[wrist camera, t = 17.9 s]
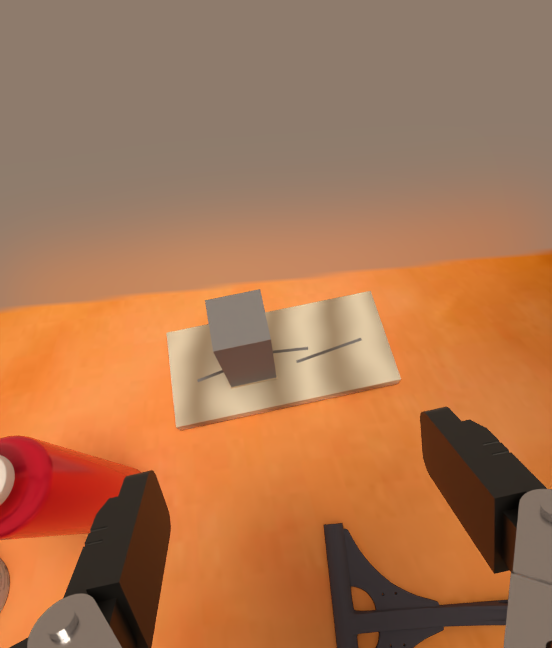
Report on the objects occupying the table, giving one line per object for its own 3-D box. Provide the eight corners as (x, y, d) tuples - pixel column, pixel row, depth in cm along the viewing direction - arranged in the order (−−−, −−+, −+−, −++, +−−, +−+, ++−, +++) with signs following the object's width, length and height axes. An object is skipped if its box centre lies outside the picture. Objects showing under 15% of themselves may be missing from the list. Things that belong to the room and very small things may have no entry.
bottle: (113, 457, 40) (-38, 408, 22) (161, 482, 39) (43, 452, 21) (80, 513, 38) (-117, 510, 20) (130, 542, 37) (-32, 566, 19)
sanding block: (268, 336, 43) (260, 288, 34) (277, 378, 41) (271, 339, 32) (224, 345, 43) (204, 300, 34) (231, 388, 41) (212, 352, 32)
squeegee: (545, 721, 31) (566, 738, 29) (346, 736, 31) (350, 755, 29) (488, 510, 37) (502, 509, 35) (322, 524, 38) (324, 524, 35)
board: (368, 297, 46) (370, 290, 45) (397, 383, 42) (401, 379, 41) (170, 338, 45) (166, 332, 44) (180, 430, 41) (176, 427, 40)
